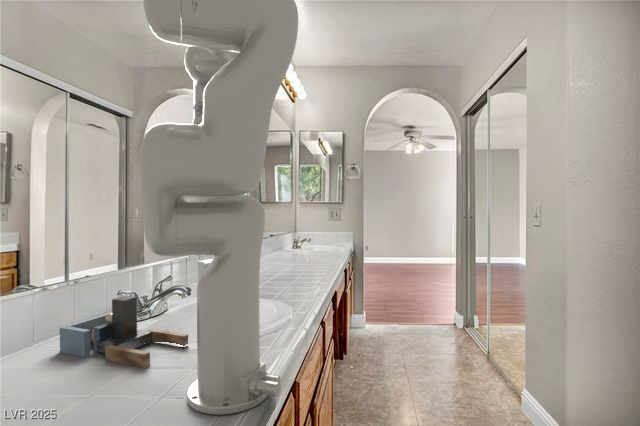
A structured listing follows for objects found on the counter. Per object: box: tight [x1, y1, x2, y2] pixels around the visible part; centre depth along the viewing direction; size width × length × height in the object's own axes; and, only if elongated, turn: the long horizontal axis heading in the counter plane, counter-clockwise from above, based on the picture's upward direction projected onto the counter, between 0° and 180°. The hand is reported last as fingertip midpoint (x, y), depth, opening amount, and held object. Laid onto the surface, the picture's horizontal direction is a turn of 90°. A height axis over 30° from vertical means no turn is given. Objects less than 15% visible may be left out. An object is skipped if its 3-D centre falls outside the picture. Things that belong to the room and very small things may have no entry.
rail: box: [104, 328, 189, 369], centre depth 76 cm, size 10×11×2 cm
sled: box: [93, 295, 152, 354], centre depth 78 cm, size 8×8×10 cm
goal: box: [59, 311, 112, 358], centre depth 81 cm, size 7×12×5 cm, turn 158°
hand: (211, 189), depth 86 cm, fingers open, 9 cm apart
